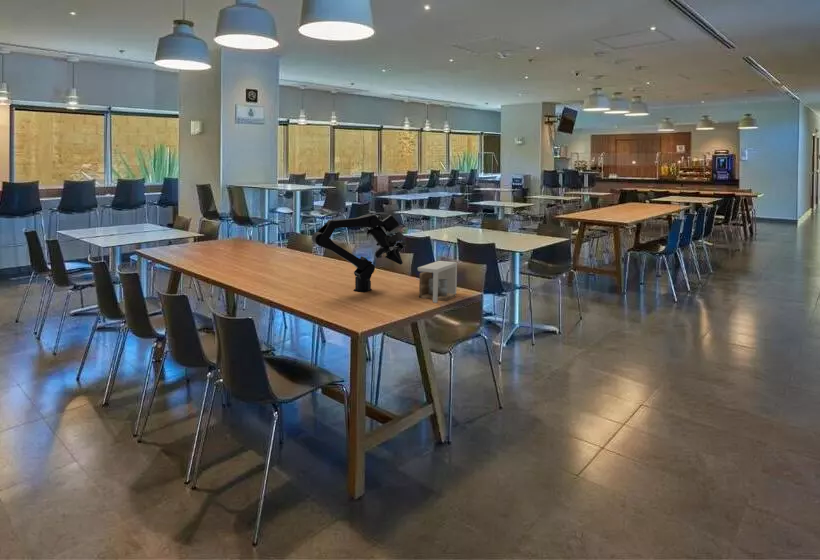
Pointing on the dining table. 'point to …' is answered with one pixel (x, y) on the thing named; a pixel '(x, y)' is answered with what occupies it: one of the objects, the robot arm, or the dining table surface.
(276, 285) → the dining table surface
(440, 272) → the counter
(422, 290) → the caddy
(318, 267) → the dining table surface
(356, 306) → the dining table surface
